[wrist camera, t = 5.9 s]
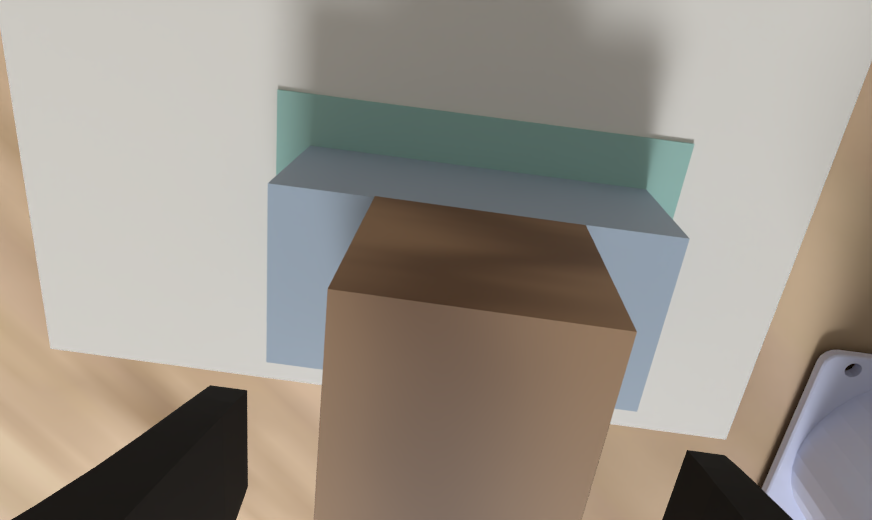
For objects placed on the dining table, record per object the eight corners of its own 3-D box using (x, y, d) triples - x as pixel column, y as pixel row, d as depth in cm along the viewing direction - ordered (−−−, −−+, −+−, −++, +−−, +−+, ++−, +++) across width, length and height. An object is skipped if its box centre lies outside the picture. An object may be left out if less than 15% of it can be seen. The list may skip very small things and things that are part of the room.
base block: (646, 189, 18) (689, 238, 14) (607, 335, 20) (636, 411, 16) (309, 145, 18) (267, 183, 14) (304, 295, 20) (266, 362, 16)
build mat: (989, -274, 14) (1007, -283, 13) (721, 432, 22) (727, 441, 21) (-55, -403, 14) (-73, -416, 14) (57, 342, 22) (48, 349, 22)
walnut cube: (585, 225, 14) (637, 331, 10) (544, 399, 16) (570, 555, 12) (374, 195, 14) (327, 288, 10) (359, 373, 16) (313, 519, 12)
